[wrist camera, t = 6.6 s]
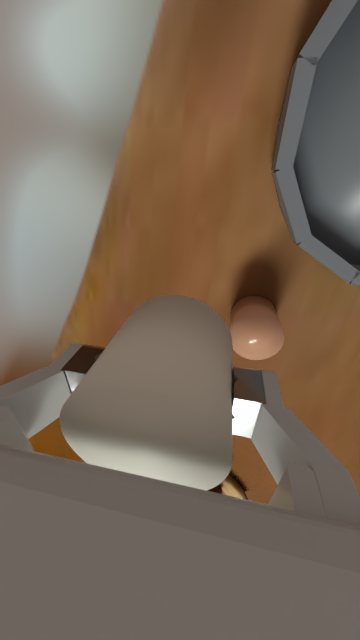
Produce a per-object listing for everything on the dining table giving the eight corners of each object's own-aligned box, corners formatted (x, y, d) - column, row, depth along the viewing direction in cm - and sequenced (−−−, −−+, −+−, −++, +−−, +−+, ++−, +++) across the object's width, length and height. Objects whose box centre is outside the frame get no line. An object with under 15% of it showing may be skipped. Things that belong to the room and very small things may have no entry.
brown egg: (280, 297, 26) (290, 321, 21) (270, 335, 28) (277, 363, 24) (233, 293, 26) (234, 314, 22) (227, 330, 29) (227, 356, 25)
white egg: (240, 301, 9) (246, 405, 5) (225, 390, 12) (221, 508, 8) (119, 289, 10) (37, 370, 6) (130, 375, 13) (79, 475, 8)
